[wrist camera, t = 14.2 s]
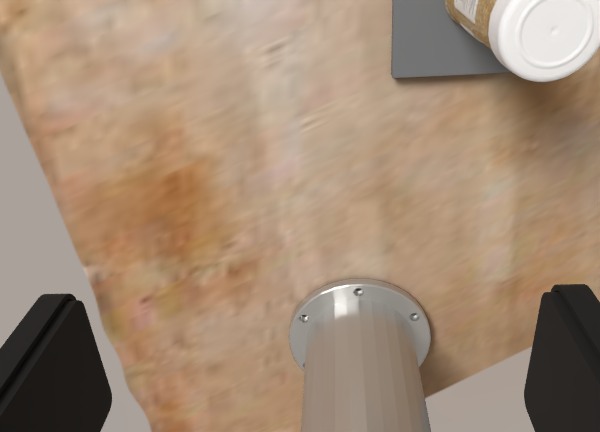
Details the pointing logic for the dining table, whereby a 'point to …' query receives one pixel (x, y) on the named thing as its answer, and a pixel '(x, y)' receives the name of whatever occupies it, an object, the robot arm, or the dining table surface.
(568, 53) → the spice jar
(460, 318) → the dining table surface
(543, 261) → the dining table surface
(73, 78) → the dining table surface
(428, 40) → the mat
